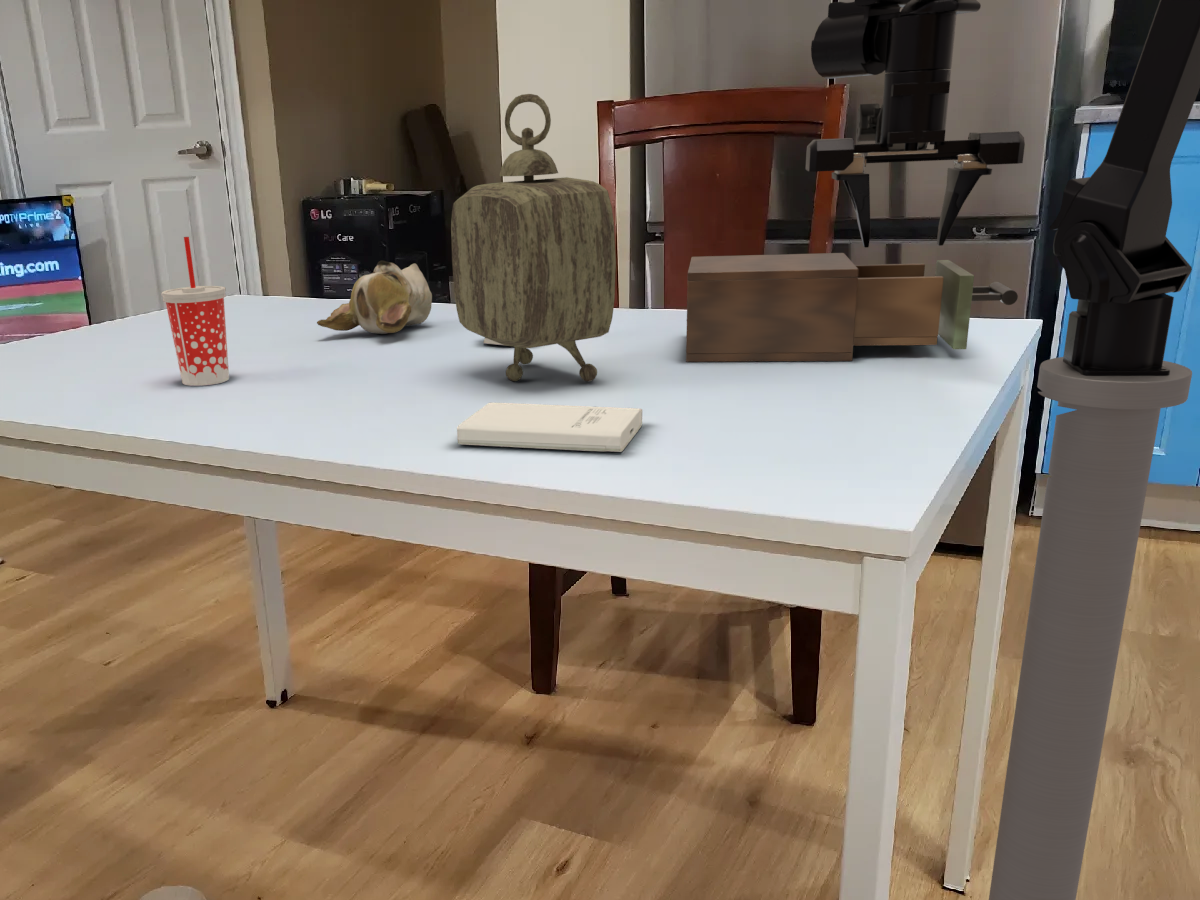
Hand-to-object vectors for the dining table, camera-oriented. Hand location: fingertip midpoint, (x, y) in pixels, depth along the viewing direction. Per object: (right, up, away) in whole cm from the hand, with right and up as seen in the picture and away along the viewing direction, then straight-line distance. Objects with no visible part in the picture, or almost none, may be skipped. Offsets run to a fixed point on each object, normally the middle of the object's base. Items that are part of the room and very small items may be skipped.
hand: (902, 246), depth 106 cm
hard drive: (-36, -21, -22) cm, 47 cm away
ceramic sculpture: (-52, -4, +26) cm, 59 cm away
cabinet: (-12, -9, +6) cm, 16 cm away
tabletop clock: (-36, -13, -2) cm, 39 cm away
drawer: (+1, -8, +3) cm, 9 cm away
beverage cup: (-69, -13, +4) cm, 70 cm away
